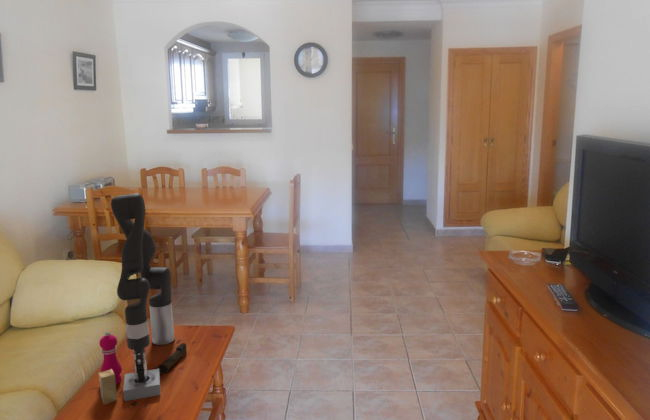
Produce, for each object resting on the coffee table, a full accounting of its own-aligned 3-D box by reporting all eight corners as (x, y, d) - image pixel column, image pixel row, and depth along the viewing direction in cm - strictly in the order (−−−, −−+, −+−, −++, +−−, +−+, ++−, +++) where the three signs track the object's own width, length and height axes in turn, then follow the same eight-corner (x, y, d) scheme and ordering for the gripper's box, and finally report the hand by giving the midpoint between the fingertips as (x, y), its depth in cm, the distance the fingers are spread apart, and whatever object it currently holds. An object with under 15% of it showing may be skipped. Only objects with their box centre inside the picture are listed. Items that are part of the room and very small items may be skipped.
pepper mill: (127, 378, 190) (122, 328, 186) (113, 388, 183) (108, 337, 179) (111, 375, 192) (106, 326, 188) (97, 385, 185) (91, 334, 181)
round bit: (136, 384, 183) (134, 359, 181) (148, 382, 184) (146, 357, 182) (136, 390, 179) (134, 364, 177) (148, 388, 181) (146, 362, 179)
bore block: (125, 384, 186) (124, 374, 185) (159, 378, 189) (159, 368, 189) (124, 401, 174) (123, 390, 174) (160, 394, 178) (159, 384, 177)
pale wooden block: (101, 398, 176) (98, 372, 174) (114, 394, 179) (112, 368, 177) (103, 404, 173) (100, 378, 171) (117, 400, 175) (114, 374, 173)
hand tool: (167, 374, 192) (166, 363, 191) (158, 373, 193) (157, 362, 192) (192, 352, 210) (191, 341, 209) (183, 351, 211) (183, 340, 210)
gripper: (127, 326, 183) (131, 369, 187) (125, 343, 170) (129, 389, 173) (149, 323, 186) (152, 366, 189) (148, 340, 172) (152, 385, 176)
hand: (141, 377), depth 181 cm, fingers open, 4 cm apart
